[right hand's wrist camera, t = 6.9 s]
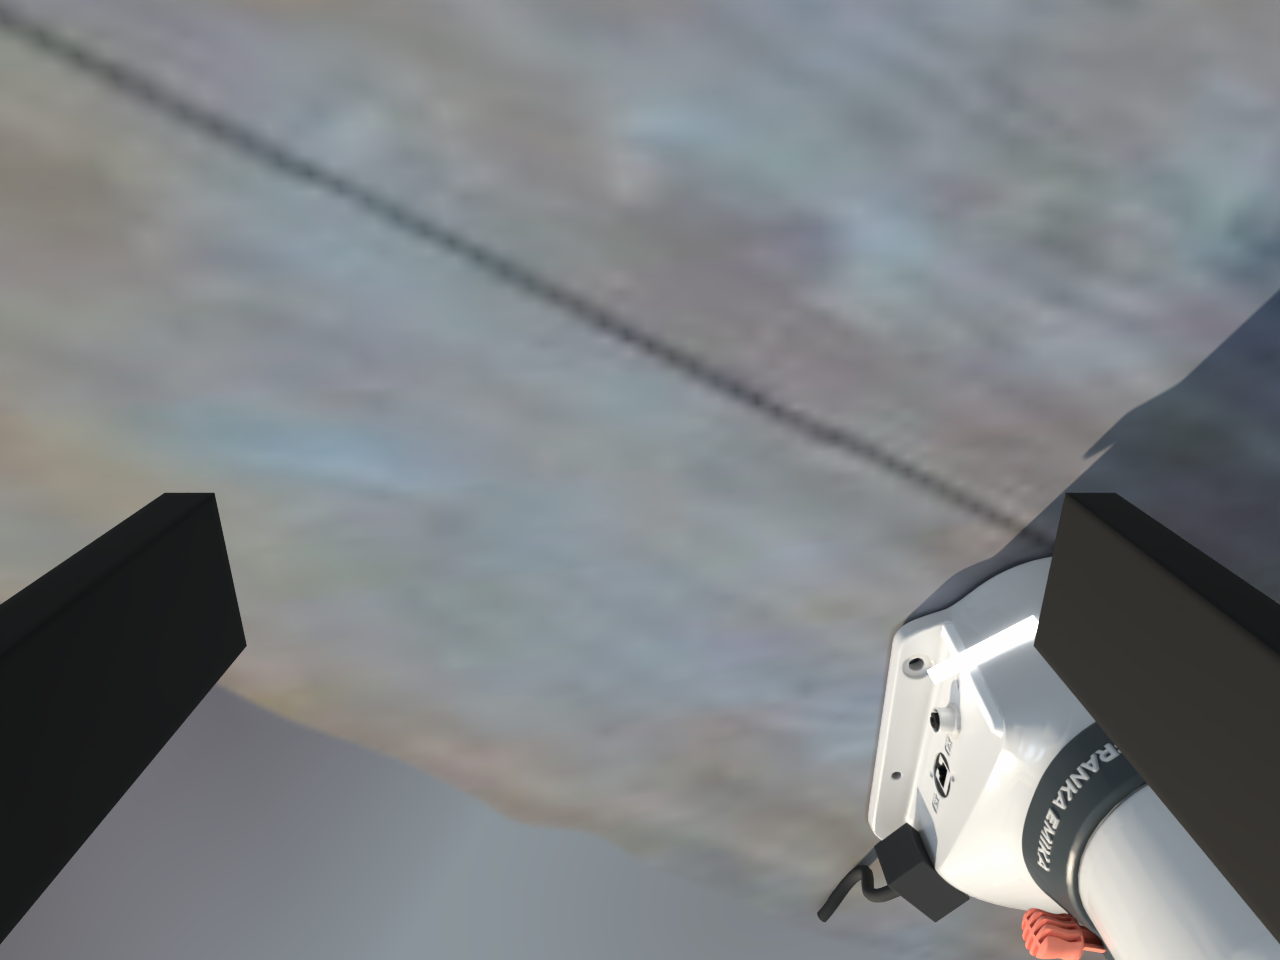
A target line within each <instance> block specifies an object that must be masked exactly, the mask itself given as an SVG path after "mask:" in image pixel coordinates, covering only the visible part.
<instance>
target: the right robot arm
mask: <svg viewBox="0 0 1280 960" xmlns="http://www.w3.org/2000/svg"><path fill="white" fill-rule="evenodd" d="M246 646H247V645H246V640H245V636H244V631H243V626H242V621H241V617H240V612H239V607H238V602H237V598H236V593H235V588H234V583H233V579H232V574H231V569H230V565H229V560H228V555H227V550H226V546H225V541H224V536H223V531H222V527H221V522H220V517H219V512H218V508H217V503H216V498H215V493H164V494H162V495H161V496H159V497H158V498H156V499H155V500H153V501H152V502H151V503H149V504H148V505H146V506H145V507H143V508H142V509H140V510H139V511H137V512H136V513H134V514H133V515H131V516H130V517H129V518H127V519H126V520H124V521H123V522H121V523H120V524H118V525H117V526H115V527H114V528H112V529H111V530H109V531H108V532H106V533H105V534H104V535H102V536H101V537H99V538H98V539H96V540H95V541H93V542H92V543H90V544H89V545H87V546H86V547H84V548H83V549H82V550H80V551H79V552H77V553H76V554H74V555H73V556H71V557H70V558H68V559H67V560H65V561H64V562H62V563H61V564H59V565H58V566H57V567H55V568H54V569H52V570H51V571H49V572H48V573H46V574H45V575H43V576H42V577H40V578H39V579H37V580H36V581H35V582H33V583H32V584H30V585H29V586H27V587H26V588H24V589H23V590H21V591H20V592H18V593H17V594H15V595H14V596H12V597H11V598H10V599H8V600H7V601H5V602H4V603H2V604H1V605H0V944H1V943H2V942H3V940H4V939H5V938H6V937H7V935H8V934H9V933H10V932H11V931H12V929H13V928H14V927H15V926H16V925H17V923H18V922H19V921H20V920H21V919H22V917H23V916H24V915H25V914H26V912H27V911H28V910H29V909H30V908H31V906H32V905H33V904H34V903H35V901H36V900H37V899H38V898H39V897H40V895H41V894H42V893H43V892H44V891H45V889H46V888H47V887H48V886H49V884H50V883H51V882H52V881H53V880H54V878H55V877H56V876H57V875H58V874H59V872H60V871H61V870H62V869H63V868H64V866H65V865H66V864H67V863H68V862H69V860H70V859H71V858H72V857H73V856H74V854H75V853H76V852H77V851H78V849H79V848H80V847H81V846H82V845H83V843H84V842H85V841H86V840H87V839H88V837H89V836H90V835H91V834H92V833H93V831H94V830H95V829H96V828H97V826H98V825H99V824H100V823H101V822H102V820H103V819H104V818H105V817H106V816H107V814H108V813H109V812H110V811H111V809H112V808H113V807H114V806H115V805H116V803H117V802H118V801H119V800H120V799H121V797H122V796H123V795H124V794H125V792H126V791H127V790H128V789H129V788H130V786H131V785H132V784H133V783H134V782H135V780H136V779H137V778H138V777H139V776H140V774H141V773H142V772H143V771H144V769H145V768H146V767H147V766H148V765H149V763H150V762H151V761H152V760H153V759H154V757H155V756H156V755H157V754H158V753H159V751H160V750H161V749H162V748H163V746H164V745H165V744H166V743H167V742H168V740H169V739H170V738H171V737H172V736H173V734H174V733H175V732H176V731H177V730H178V728H179V727H180V726H181V725H182V723H183V722H184V721H185V720H186V719H187V717H188V716H189V715H190V714H191V713H192V711H193V710H194V709H195V708H196V706H197V705H198V704H199V703H200V702H201V700H202V699H203V698H204V697H205V696H206V694H207V693H208V692H209V691H210V690H211V688H212V687H213V686H214V685H215V684H216V682H217V681H218V680H219V679H220V677H221V676H222V675H223V674H224V673H225V671H226V670H227V669H228V668H229V667H230V665H231V664H232V663H233V662H234V660H235V659H236V658H237V657H238V656H239V654H240V653H241V652H242V651H243V650H244V648H245V647H246ZM1033 646H1034V647H1035V648H1036V650H1037V651H1038V652H1039V653H1040V654H1041V656H1042V657H1043V658H1044V659H1045V661H1046V662H1047V663H1048V664H1049V665H1050V667H1051V668H1052V669H1053V670H1054V671H1055V673H1056V674H1057V675H1058V676H1059V677H1060V679H1061V680H1062V681H1063V682H1064V684H1065V685H1066V686H1067V687H1068V688H1069V690H1070V691H1071V692H1072V693H1073V694H1074V696H1075V697H1076V698H1077V699H1078V700H1079V702H1080V703H1081V704H1082V705H1083V707H1084V708H1085V709H1086V710H1087V711H1088V713H1089V714H1090V715H1091V716H1092V717H1093V719H1094V720H1095V721H1096V722H1097V723H1098V725H1099V726H1100V727H1101V728H1102V730H1103V731H1104V732H1105V733H1106V734H1107V736H1108V737H1109V738H1110V739H1111V740H1112V742H1113V743H1114V744H1115V745H1116V747H1117V748H1118V749H1119V750H1120V751H1121V753H1122V754H1123V755H1124V756H1125V757H1126V759H1127V760H1128V761H1129V762H1130V763H1131V765H1132V766H1133V767H1134V768H1135V770H1136V771H1137V772H1138V773H1139V774H1140V776H1141V777H1142V778H1143V779H1144V780H1145V782H1146V783H1147V784H1148V785H1149V786H1150V788H1151V789H1152V790H1153V791H1154V793H1155V794H1156V795H1157V796H1158V797H1159V799H1160V800H1161V801H1162V802H1163V803H1164V805H1165V806H1166V807H1167V808H1168V810H1169V811H1170V812H1171V813H1172V814H1173V816H1174V817H1175V818H1176V819H1177V820H1178V822H1179V823H1180V824H1181V825H1182V826H1183V828H1184V829H1185V830H1186V831H1187V833H1188V834H1189V835H1190V836H1191V837H1192V839H1193V840H1194V841H1195V842H1196V843H1197V845H1198V846H1199V847H1200V848H1201V849H1202V851H1203V852H1204V853H1205V854H1206V856H1207V857H1208V858H1209V859H1210V860H1211V862H1212V863H1213V864H1214V865H1215V866H1216V868H1217V869H1218V870H1219V871H1220V872H1221V874H1222V875H1223V876H1224V877H1225V879H1226V880H1227V881H1228V882H1229V883H1230V885H1231V886H1232V887H1233V888H1234V889H1235V891H1236V892H1237V893H1238V894H1239V896H1240V897H1241V898H1242V899H1243V900H1244V902H1245V903H1246V904H1247V905H1248V906H1249V908H1250V909H1251V910H1252V911H1253V912H1254V914H1255V915H1256V916H1257V917H1258V919H1259V920H1260V921H1261V922H1262V923H1263V925H1264V926H1265V927H1266V928H1267V929H1268V931H1269V932H1270V933H1271V934H1272V935H1273V937H1274V938H1275V939H1276V940H1277V942H1278V943H1279V944H1280V605H1279V604H1278V603H1276V602H1275V601H1273V600H1272V599H1270V598H1269V597H1268V596H1266V595H1265V594H1263V593H1262V592H1260V591H1259V590H1257V589H1256V588H1254V587H1253V586H1251V585H1250V584H1248V583H1247V582H1245V581H1244V580H1243V579H1241V578H1240V577H1238V576H1237V575H1235V574H1234V573H1232V572H1231V571H1229V570H1228V569H1226V568H1225V567H1223V566H1222V565H1221V564H1219V563H1218V562H1216V561H1215V560H1213V559H1212V558H1210V557H1209V556H1207V555H1206V554H1204V553H1203V552H1201V551H1200V550H1198V549H1197V548H1196V547H1194V546H1193V545H1191V544H1190V543H1188V542H1187V541H1185V540H1184V539H1182V538H1181V537H1179V536H1178V535H1176V534H1175V533H1174V532H1172V531H1171V530H1169V529H1168V528H1166V527H1165V526H1163V525H1162V524H1160V523H1159V522H1157V521H1156V520H1154V519H1153V518H1151V517H1150V516H1149V515H1147V514H1146V513H1144V512H1143V511H1141V510H1140V509H1138V508H1137V507H1135V506H1134V505H1132V504H1131V503H1129V502H1128V501H1127V500H1125V499H1124V498H1122V497H1121V496H1119V495H1118V494H1116V493H1065V498H1064V503H1063V508H1062V512H1061V517H1060V522H1059V527H1058V531H1057V536H1056V541H1055V546H1054V550H1053V555H1052V560H1051V565H1050V569H1049V574H1048V579H1047V583H1046V588H1045V593H1044V598H1043V602H1042V607H1041V612H1040V617H1039V621H1038V626H1037V631H1036V636H1035V640H1034V645H1033Z"/></svg>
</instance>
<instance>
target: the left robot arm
mask: <svg viewBox="0 0 1280 960" xmlns="http://www.w3.org/2000/svg"><path fill="white" fill-rule="evenodd" d="M1051 560H1052V557H1046V558H1041V559H1037V560H1033V561H1030V562H1027V563H1023V564H1021V565H1018V566H1015V567H1013V568H1011V569H1008V570H1006V571H1004V572H1002V573H1000V574H998V575H996V576H994V577H993V578H991V579H989V580H987V581H986V582H984V583H983V584H981V585H980V586H978V587H977V588H976V589H974V590H973V591H972V592H971V593H969V594H968V595H967V596H965V597H964V598H963V599H961V600H960V601H958V602H957V603H955V604H954V605H952V606H951V607H949V608H947V609H945V610H941V611H938V612H935V613H932V614H929V615H926V616H923V617H920V618H917V619H915V620H913V621H910V622H908V623H907V624H905V625H903V626H902V627H901V628H900V629H899V630H898V631H897V632H896V634H895V636H894V639H893V644H892V651H891V658H890V665H889V672H888V679H887V686H886V693H885V700H884V707H883V714H882V720H881V727H880V734H879V741H878V748H877V755H876V762H875V769H874V776H873V783H872V790H871V797H870V804H869V812H868V822H869V824H870V826H871V828H872V830H873V832H874V834H875V835H876V836H877V837H878V838H879V839H881V840H882V841H880V842H879V843H878V844H876V845H875V846H874V847H875V850H876V853H877V856H878V859H879V862H880V865H881V867H882V870H883V873H884V876H885V879H886V882H887V886H885V887H882V888H879V889H874V879H873V873H872V870H871V869H870V868H869V867H867V866H858V867H856V868H854V869H853V870H852V871H850V872H849V873H848V874H847V875H846V876H845V877H844V879H843V880H842V881H841V882H840V883H839V885H838V886H837V887H836V889H835V890H834V892H833V893H832V895H831V896H830V897H829V899H828V900H827V902H826V903H825V904H824V906H823V907H822V908H821V909H820V910H819V912H818V913H817V914H818V917H819V919H820V920H821V921H823V922H826V921H827V920H828V919H829V918H830V916H831V915H832V914H833V913H834V911H835V910H836V909H837V907H838V906H839V904H840V903H841V902H842V900H843V899H844V897H845V896H846V895H847V893H848V892H849V891H850V889H851V888H852V887H853V886H854V885H855V884H856V883H857V882H858V881H859V880H861V884H862V891H863V894H864V896H865V897H866V898H867V899H868V900H869V901H872V902H885V901H889V900H891V899H894V898H896V897H899V896H902V897H903V898H904V899H905V900H907V901H908V902H909V903H911V904H912V905H913V906H915V907H916V908H917V909H918V910H920V911H921V912H922V913H924V914H925V915H926V916H927V917H929V918H930V919H931V920H933V921H934V922H937V921H938V920H940V919H941V918H943V917H944V916H946V915H947V914H949V913H950V912H952V911H953V910H954V909H956V908H957V907H959V906H960V905H962V904H963V903H965V902H966V901H968V900H969V899H970V898H969V896H968V895H970V896H973V897H975V898H977V899H980V900H983V901H987V902H990V903H993V904H997V905H1001V906H1005V907H1010V908H1016V909H1022V910H1027V911H1026V913H1025V915H1024V917H1023V922H1022V930H1024V931H1023V939H1024V941H1026V948H1027V949H1028V950H1030V954H1031V955H1032V956H1036V958H1041V959H1052V958H1061V959H1063V960H1079V959H1080V958H1081V956H1082V953H1083V950H1088V951H1095V952H1101V953H1103V954H1104V956H1105V958H1106V959H1108V960H1280V944H1279V943H1278V942H1277V940H1276V939H1275V938H1274V937H1273V935H1272V934H1271V933H1270V932H1269V931H1268V929H1267V928H1266V927H1265V926H1264V925H1263V923H1262V922H1261V921H1260V920H1259V919H1258V917H1257V916H1256V915H1255V914H1254V912H1253V911H1252V910H1251V909H1250V908H1249V906H1248V905H1247V904H1246V903H1245V902H1244V900H1243V899H1242V898H1241V897H1240V896H1239V894H1238V893H1237V892H1236V891H1235V889H1234V888H1233V887H1232V886H1231V885H1230V883H1229V882H1228V881H1227V880H1226V879H1225V877H1224V876H1223V875H1222V874H1221V872H1220V871H1219V870H1218V869H1217V868H1216V866H1215V865H1214V864H1213V863H1212V862H1211V860H1210V859H1209V858H1208V857H1207V856H1206V854H1205V853H1204V852H1203V851H1202V849H1201V848H1200V847H1199V846H1198V845H1197V843H1196V842H1195V841H1194V840H1193V839H1192V837H1191V836H1190V835H1189V834H1188V833H1187V831H1186V830H1185V829H1184V828H1183V826H1182V825H1181V824H1180V823H1179V822H1178V820H1177V819H1176V818H1175V817H1174V816H1173V814H1172V813H1171V812H1170V811H1169V810H1168V808H1167V807H1166V806H1165V805H1164V803H1163V802H1162V801H1161V800H1160V799H1159V797H1158V796H1157V795H1156V794H1155V793H1154V791H1153V790H1152V789H1151V788H1150V786H1149V785H1148V784H1147V783H1146V782H1145V780H1144V779H1143V778H1142V777H1141V776H1140V774H1139V773H1138V772H1137V771H1136V770H1135V768H1134V767H1133V766H1132V765H1131V763H1130V762H1129V761H1128V760H1127V759H1126V757H1125V756H1124V755H1123V754H1122V753H1121V751H1120V750H1119V749H1118V748H1117V747H1116V745H1115V744H1114V743H1113V742H1112V740H1111V739H1110V738H1109V737H1108V736H1107V734H1106V733H1105V732H1104V731H1103V730H1102V728H1101V727H1100V726H1099V725H1098V723H1097V722H1096V721H1095V720H1094V719H1093V717H1092V716H1091V715H1090V714H1089V713H1088V711H1087V710H1086V709H1085V708H1084V707H1083V705H1082V704H1081V703H1080V702H1079V700H1078V699H1077V698H1076V697H1075V696H1074V694H1073V693H1072V692H1071V691H1070V690H1069V688H1068V687H1067V686H1066V685H1065V684H1064V682H1063V681H1062V680H1061V679H1060V677H1059V676H1058V675H1057V674H1056V673H1055V671H1054V670H1053V669H1052V668H1051V667H1050V665H1049V664H1048V663H1047V662H1046V661H1045V659H1044V658H1043V657H1042V656H1041V654H1040V653H1039V652H1038V651H1037V650H1036V648H1035V647H1034V646H1033V645H1034V640H1035V636H1036V631H1037V626H1038V621H1039V617H1040V612H1041V607H1042V602H1043V598H1044V593H1045V588H1046V583H1047V579H1048V574H1049V569H1050V565H1051ZM914 658H920V659H919V660H918V661H917V662H916V663H910V661H911V660H912V659H914ZM1052 913H1061V914H1052ZM1067 913H1068V914H1067ZM1076 920H1077V921H1078V922H1080V923H1081V924H1082V925H1084V926H1080V925H1079V923H1078V922H1077V921H1076Z"/></svg>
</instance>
